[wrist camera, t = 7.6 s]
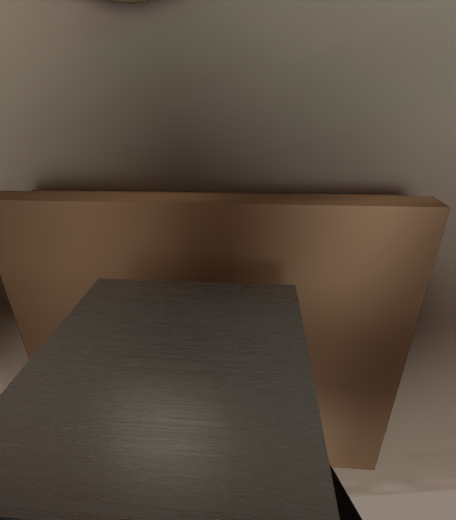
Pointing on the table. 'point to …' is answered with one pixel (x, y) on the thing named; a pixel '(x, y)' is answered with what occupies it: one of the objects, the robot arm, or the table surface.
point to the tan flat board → (246, 275)
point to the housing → (168, 410)
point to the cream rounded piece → (129, 1)
